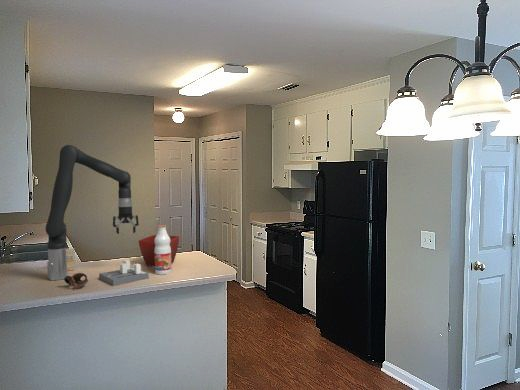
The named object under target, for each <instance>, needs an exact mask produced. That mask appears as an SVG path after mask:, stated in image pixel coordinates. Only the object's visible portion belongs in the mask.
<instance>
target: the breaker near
mask: <svg viewBox="0 0 520 390" xmlns="http://www.w3.org/2000/svg"><path fill="white" fill-rule="evenodd" d="M133 267H134V273H135V274H140V273H141V270H142V267H141V264H140V263H134V264H133Z"/></svg>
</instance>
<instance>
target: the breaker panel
mask: <svg viewBox="0 0 520 390" xmlns="http://www.w3.org/2000/svg"><path fill="white" fill-rule="evenodd" d="M149 277H150V276H149V272H146V271H144V270H142V269H141V273H140V274H135V273H134V266H133V267H130V269H129V270H127V273H124V274H122V273H120V269H117V270H112V271H111V270H110V271H107V272H100V273H98V279H99V280H101V281H103V282H105V283H107V284H109V285H111V286H113V287H115V286H119V285H124V284H128V283H134V282H138V281H142V280H149V279H150V278H149Z"/></svg>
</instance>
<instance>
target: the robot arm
mask: <svg viewBox="0 0 520 390" xmlns="http://www.w3.org/2000/svg"><path fill="white" fill-rule="evenodd" d="M59 150H60V151H59V162H58V170H57V173H56V177H55V180H54V184H53V190H52V195H51V196H52V197H51V203H50V210H49V211H50V212H49V215H48V218H47V222H46V223H45V232H46V235H48V242H47V256H48V257H47V259H48V261H47V262H46V265H47V266H46V267H47V279H48V280H50V281H60V280H64V279H65V277H66V276H68V271H67V258H66V248H67V226H66V223H65V222H64V219H65V214H66V210H67V209H68V208H67V207H68V206H69V202H70V200H71V197H72V193H73V192H72V191H73V180H74V179H73V177H74V176H73V173H74V167H75V164H79V165H83V166H85V167H87V168H88V169H90V170H92V171H94V172H96V173H98V174H101V175H103V176H105V177H108V178H111V179H113V180H115V181H116V182H118V191H117V192H118V205H117V206H118V207H117V208H118V209H117V210H118V216H116V215H113V216H112V227H113V228H115V229H116V231H115V232H116V234H117V235H119V234H120V226H121V224H129V223H130V224H131V225H132V233H133V234H135V233H136V231H137V230H136V227H138V226H140V225H139V223H140V222H139V215H138V214H136V215H133V201H132V190H131V189H132V188H131V184H132V183H131V182H132V179H131V178H132V177H131V174H130V173H129V172H128V171H125V170H123V169H121V168H117V167H116V166H115V165H113V164H110V163H107V162H106V161H103V160H100V159H99V158H95V157H93V156H91V155H88V154H87V153H85V152H83V151H81V150H80V149H79V148H77V146H74V145H72V144H66V145H63V147H61V149H59ZM133 219H134V220H135V222H136V223H135V222H134V221H133ZM117 220H119V221H118V223H117V224H116V221H117Z"/></svg>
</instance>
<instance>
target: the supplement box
mask: <svg viewBox="0 0 520 390" xmlns="http://www.w3.org/2000/svg"><path fill="white" fill-rule="evenodd" d="M75 257H76V256H75V247H70V248H67V247H66V258H67V272H68V271H75V269H76V259H75Z"/></svg>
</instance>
